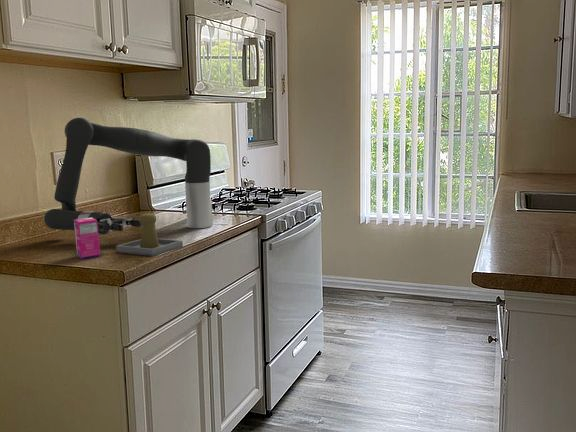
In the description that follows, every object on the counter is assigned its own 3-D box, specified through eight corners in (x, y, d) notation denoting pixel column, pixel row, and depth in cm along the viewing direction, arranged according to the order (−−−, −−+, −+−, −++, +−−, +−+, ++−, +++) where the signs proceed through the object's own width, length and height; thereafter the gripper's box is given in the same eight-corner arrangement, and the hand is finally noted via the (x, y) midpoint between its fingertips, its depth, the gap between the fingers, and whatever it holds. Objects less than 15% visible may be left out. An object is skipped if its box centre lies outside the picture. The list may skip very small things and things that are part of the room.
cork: (151, 245, 194) (149, 211, 192) (163, 247, 190) (161, 213, 188) (136, 248, 189) (133, 214, 187) (147, 250, 185) (145, 215, 184)
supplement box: (76, 256, 182) (73, 219, 181) (96, 253, 185) (93, 217, 184) (80, 259, 177) (77, 221, 176) (100, 256, 181) (98, 219, 179)
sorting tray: (148, 243, 199) (147, 237, 199) (182, 246, 192) (182, 240, 192) (116, 252, 187) (116, 245, 186) (152, 256, 180) (152, 249, 179)
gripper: (77, 214, 193) (114, 217, 185) (109, 208, 205) (145, 210, 197) (79, 237, 194) (116, 241, 186) (110, 229, 206) (147, 233, 199)
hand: (131, 225), depth 192 cm, fingers open, 8 cm apart
